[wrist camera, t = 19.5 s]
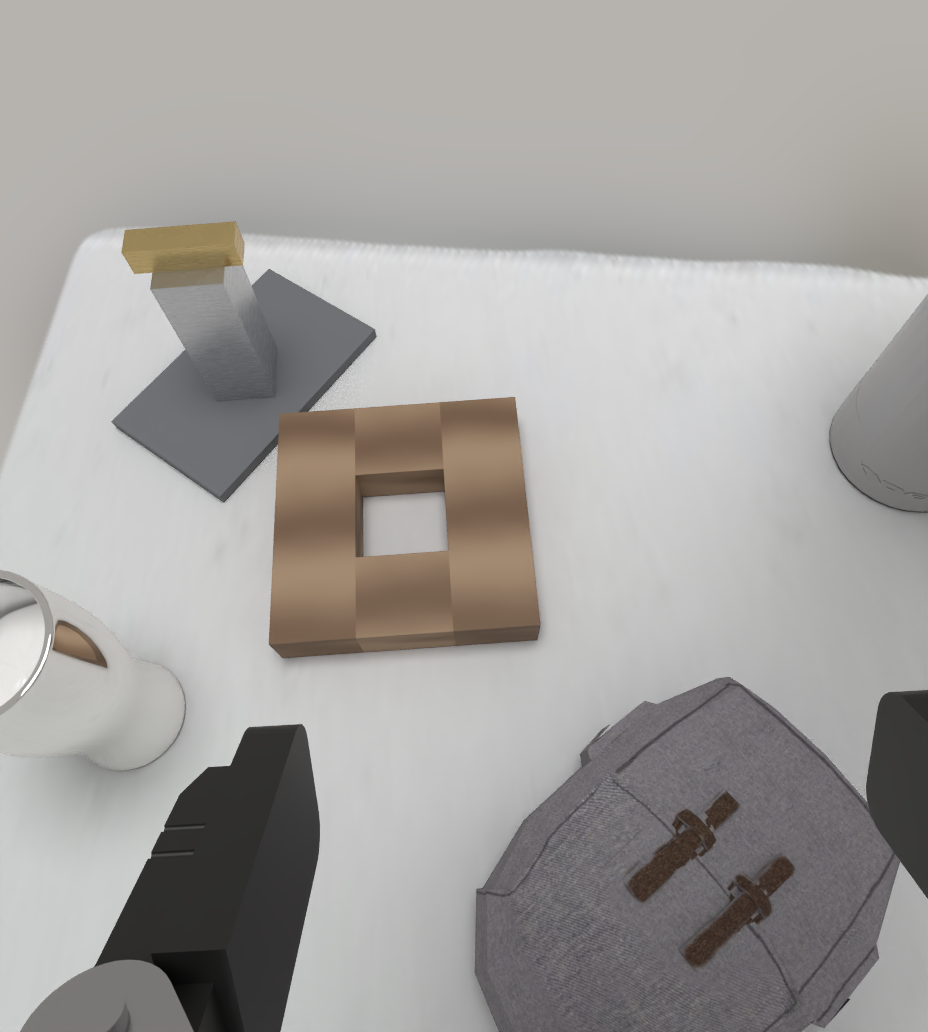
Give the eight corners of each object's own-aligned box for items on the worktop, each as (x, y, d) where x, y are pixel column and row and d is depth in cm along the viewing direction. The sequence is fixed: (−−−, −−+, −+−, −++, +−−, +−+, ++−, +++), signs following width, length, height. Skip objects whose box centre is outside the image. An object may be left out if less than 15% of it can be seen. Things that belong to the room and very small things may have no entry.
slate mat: (271, 276, 56) (269, 268, 56) (376, 336, 54) (374, 329, 53) (116, 427, 51) (111, 421, 51) (223, 502, 49) (219, 496, 48)
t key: (202, 403, 51) (118, 269, 39) (206, 355, 53) (127, 214, 41) (290, 396, 51) (232, 260, 40) (291, 348, 53) (236, 205, 41)
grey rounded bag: (686, 657, 44) (412, 898, 39) (728, 614, 36) (394, 906, 31) (901, 883, 38) (614, 1194, 34) (1002, 888, 31) (651, 1289, 26)
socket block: (290, 438, 50) (279, 413, 48) (513, 422, 50) (515, 396, 48) (282, 658, 44) (268, 644, 41) (537, 639, 44) (540, 625, 41)
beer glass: (218, 704, 43) (94, 631, 30) (127, 806, 41) (-53, 778, 27) (137, 632, 45) (-15, 532, 31) (46, 726, 43) (-160, 663, 29)
